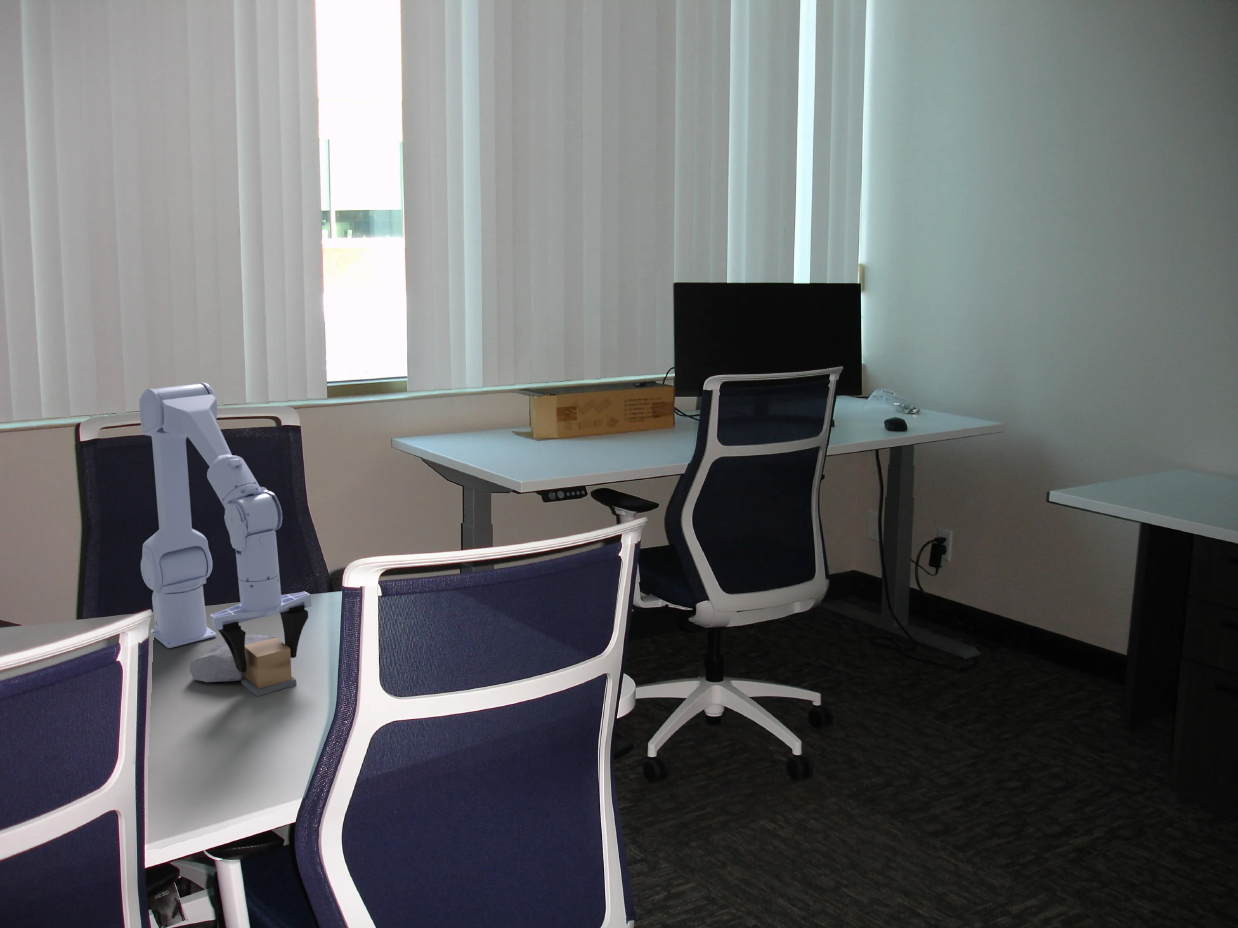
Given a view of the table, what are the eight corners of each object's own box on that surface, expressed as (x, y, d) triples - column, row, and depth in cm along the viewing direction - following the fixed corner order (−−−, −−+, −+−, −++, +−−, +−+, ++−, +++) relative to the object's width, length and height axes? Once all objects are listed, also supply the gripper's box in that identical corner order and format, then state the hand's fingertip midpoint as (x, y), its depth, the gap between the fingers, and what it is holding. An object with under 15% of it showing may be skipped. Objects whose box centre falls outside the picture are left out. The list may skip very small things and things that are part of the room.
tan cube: (245, 676, 157) (243, 645, 155) (277, 667, 160) (276, 637, 159) (258, 688, 153) (257, 656, 152) (291, 679, 156) (290, 648, 155)
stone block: (188, 693, 157) (244, 680, 155) (178, 663, 157) (234, 649, 154) (233, 666, 169) (286, 654, 166) (224, 638, 168) (277, 625, 166)
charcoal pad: (241, 683, 157) (240, 678, 157) (279, 672, 161) (279, 667, 161) (257, 696, 153) (256, 691, 152) (296, 684, 156) (296, 679, 156)
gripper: (219, 593, 145) (228, 684, 148) (317, 571, 155) (324, 657, 158) (201, 581, 151) (210, 670, 154) (296, 560, 160) (303, 644, 163)
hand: (266, 662), depth 156 cm, fingers open, 7 cm apart
